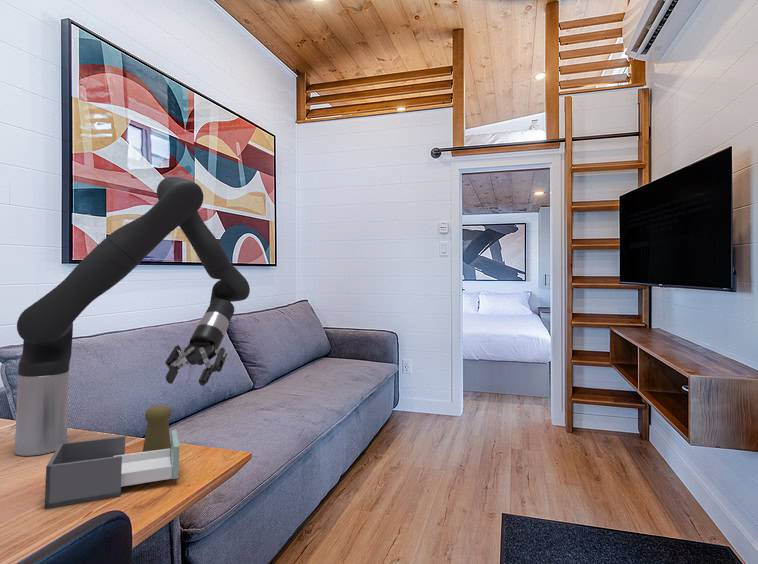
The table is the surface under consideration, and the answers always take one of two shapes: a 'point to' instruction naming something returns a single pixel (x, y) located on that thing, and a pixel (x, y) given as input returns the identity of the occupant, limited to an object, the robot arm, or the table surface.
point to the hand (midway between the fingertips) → (184, 382)
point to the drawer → (151, 464)
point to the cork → (157, 428)
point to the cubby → (84, 472)
